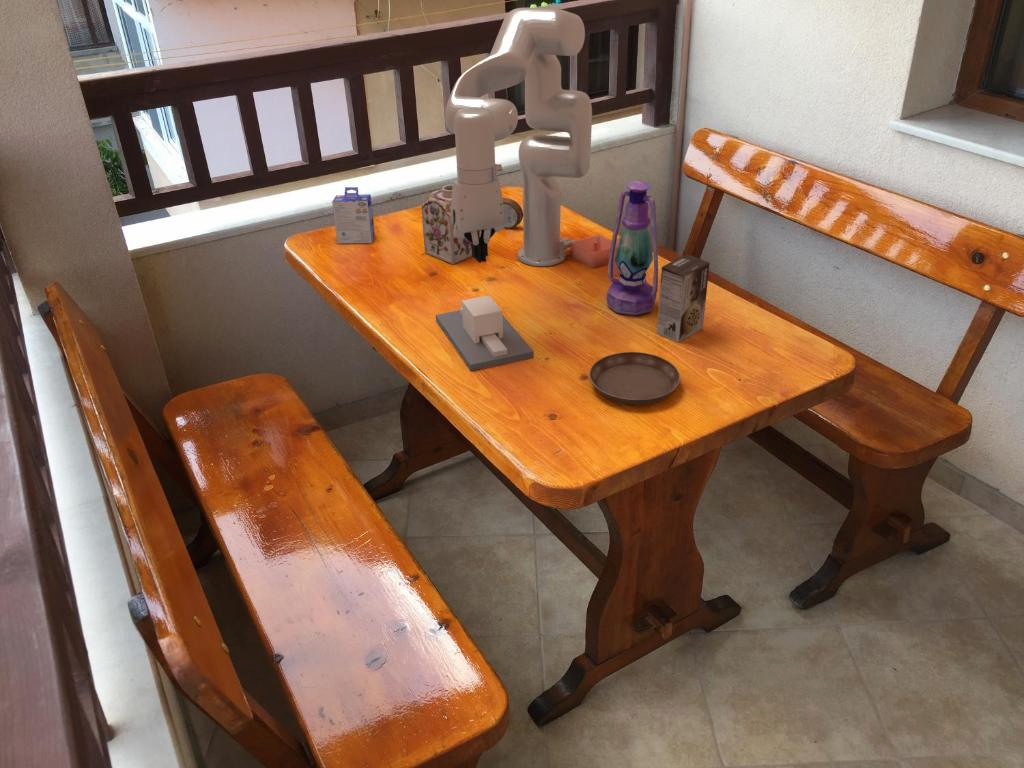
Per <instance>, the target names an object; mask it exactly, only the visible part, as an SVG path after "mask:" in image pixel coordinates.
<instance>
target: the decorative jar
mask: <svg viewBox="0 0 1024 768" xmlns="http://www.w3.org/2000/svg"><path fill="white" fill-rule="evenodd" d="M452 188H453V184H447V185H444V186H443V187H442V188H441V189H438V190H435V191H433V192H431V193H430V194H429V195H428V196H427V197H426V199H425V200H424V201H423V203H422V205H421V220H422V234H423V246H424V254H427V255H429V256H432V257H434V258H437V259H439V260H441V261H444V262H446V263H448V264H450V265H455V264H457V263H460V262H462V261H465V260H467V259H470V258H473V256H472V247H471V242H470V241H469V240H468V239H466V238H456V237H455V236H454V235H453V230H454V225H453V224H452V221H451V200H452ZM477 236H478V239H479V238H480V231H477Z"/></svg>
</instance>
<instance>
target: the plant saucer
mask: <svg viewBox="0 0 1024 768" xmlns="http://www.w3.org/2000/svg"><path fill="white" fill-rule="evenodd" d="M588 375H589V376H588V377H589V380H590V382H591V384H592V385H593V386H594V387H595V389H596V390H597V391H598V392H599V393H600V394H601V395H602V396H603V397H605V398H607V399H608V400H610V401H612V402H615V403H617V404H621V405H627V406H636V407H637V406H646V405H647V406H648V405H651V404H655V403H657V402H660V401H662V400H664V399H665V398H666V397H668V396H669V395H671V394H672V393H673V392H674V391H675V389H676V388H677V387H678V385H679V384H680V380H681V375H680V372H679V370H678V368H677V367H676V366H675V365H674V364H673V363H672V362H670V361H669V360H667V359H665V358H662V357H661V356H658V355H655V354H653V353H652V354H651V353H646V352H638V351H637V352H635V351H625V352H624V351H623V352H617V353H613V354H608V355H606V356H604V357H602V358H600V359H598V360H596V361H595V363H593V364H592V365H591V367H590V369H589V374H588Z"/></svg>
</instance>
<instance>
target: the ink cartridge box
mask: <svg viewBox="0 0 1024 768" xmlns="http://www.w3.org/2000/svg"><path fill="white" fill-rule="evenodd" d="M348 191H354V192H348ZM331 203H332V211H333V218H334V219H333V220H334V226H335V235H336V243H337V244H373V242H374V240H375V239H376V232H375V222H374V221H375V220H374V212H373V204H372V203H373V202H372V195H371V194H360V193H359V187H357V186H352V187H351V186H347V187H346V186H345V187H344V195H335V196H334V198H333V199H332V201H331Z"/></svg>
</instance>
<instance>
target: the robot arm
mask: <svg viewBox="0 0 1024 768" xmlns="http://www.w3.org/2000/svg"><path fill="white" fill-rule="evenodd" d="M585 30H586V29H585V25H584V22H583V19H582V18H581V17H580V16H579V15H578V14H576V13H573V12H569V11H566V10H564V9H558V8H551V7H550V8H546V7H545V8H543V7H518V8H514V9H512V10H510V11H509V12H508V13H507V14H506V15H505V17H504V19H503V21H502V24H501V27H500V28H499V30H498V34H497V36H496V38H495V41H494V44H493V46H492V48H491V51H490V54H489V56H487V57H485V58H483V59H482V60H480V61H479V62H477V63H475V64H474V65H473V66H472V67H470V68H468V69H467V70H466V71H464V72H463V73H462V74H461V75H460V76H459V77H458V79H457V80H456V81H455V83H454V86H453V87H452V90H451V91H450V95H449V98H448V100H447V103H446V107H445V113H444V120H445V121H444V122H445V124H446V127H447V129H448V130H449V132H451V133H452V134H453V135H454V136H455V137H454V138H455V141H454V142H455V155H456V156H455V159H456V174H457V175H456V177H457V179H454V180H453V183H452V185H453V188H452V200H451V221H452V224H453V225H454V230H453V235H454V236H455V237H456V238H466V239H468V240H469V241H470V242H471V247H472V258H473V259H474V260H475V261H476V262H477V263H480V264H481V263H486V262H487V256H488V255H489V251H488V250H489V246H488V244H489V243H490V240H491V238H492V237H493V236H494V235H495V233H498V232H501V231H503V230H504V229H505V228H504V224H503V223H504V206H503V198H504V197H503V193H502V188H501V184H500V180H499V177H498V175H497V174H498V173H499V172H503V166H502V163H501V164H499V163H498V164H497V163H496V154H495V153H496V149H495V147H496V146H495V145H496V144H495V142H497V141H502V140H504V139H506V138H508V137H509V136H510V135H512V134H513V133H514V131H515V129H516V128H517V125H518V122H519V113H518V112H519V111H518V109H517V107H516V105H515V104H514V103H513V102H512V101H511V100H508V99H505V98H492V97H483V96H485V95H488V94H490V93H495V92H498V91H502V90H505V89H507V88H511V87H514V86H516V85H519V84H520V83H522V82H523V81H524V115H525V122H526V125H528V126H529V128H530V129H533V130H539V131H545V132H546V131H547V132H559V133H560V132H561V133H566V134H567V133H568V135H569V136H558V135H550V134H549V135H547V134H532V135H529V136H526V137H525V138H524V139H522V141H521V142H520V144H519V147H518V162H519V166H520V171H521V172H520V174H521V180H522V211H523V219H522V223H523V224H522V225H523V226H522V227H523V232H522V235H523V239H522V240H523V245H522V247H520V249H519V250H518V251H517V260H519V262H521V263H523V264H525V265H528V266H533V267H549V266H550V267H551V266H555V265H558V264H560V263H562V262H564V261H565V259H566V257H567V251H566V250H567V249H568V248H570V242H574V241H578V240H577V239H576V238H575V239H570V238H569V237H563V238H562V237H561V219H562V218H561V213H562V211H561V210H562V209H561V205H562V203H561V202H562V198H561V197H562V192H561V189H560V185H559V184H558V182H557V180H556V178H568V179H581V178H583V177H585V176H586V175H587V174H588V172H589V169H590V164H591V156H592V155H591V153H592V130H593V129H592V126H593V122H592V120H593V107H592V102H591V98H590V96H589V95H588V94H587V93H586V92H584V91H580V90H572V89H571V90H570V89H563V87H562V66H561V63H560V61H559V59H558V57H557V56H565V57H566V56H567V57H573V56H576V55H579V53H580V51H581V50H582V49H583V46H584V43H585V38H586V32H585ZM555 177H556V178H555ZM477 231H480V238H479V239H478V236H477Z"/></svg>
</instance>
